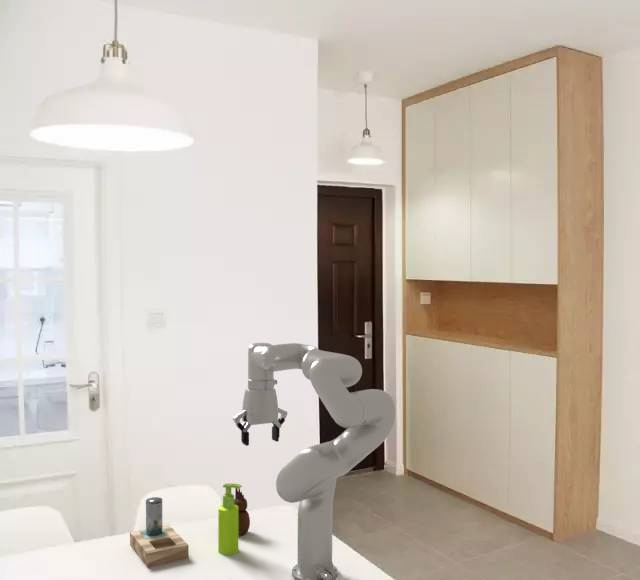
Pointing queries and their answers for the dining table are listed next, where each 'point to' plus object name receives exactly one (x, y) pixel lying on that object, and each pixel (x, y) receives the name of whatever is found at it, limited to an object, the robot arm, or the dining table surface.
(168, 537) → the housing
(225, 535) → the soap dispenser
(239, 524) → the wooden figurine
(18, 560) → the dining table surface
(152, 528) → the grey cylinder
